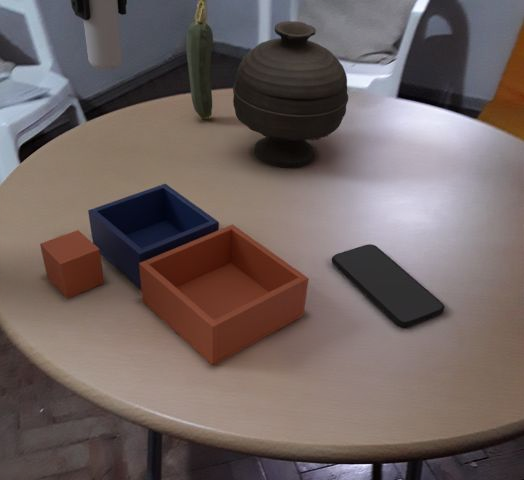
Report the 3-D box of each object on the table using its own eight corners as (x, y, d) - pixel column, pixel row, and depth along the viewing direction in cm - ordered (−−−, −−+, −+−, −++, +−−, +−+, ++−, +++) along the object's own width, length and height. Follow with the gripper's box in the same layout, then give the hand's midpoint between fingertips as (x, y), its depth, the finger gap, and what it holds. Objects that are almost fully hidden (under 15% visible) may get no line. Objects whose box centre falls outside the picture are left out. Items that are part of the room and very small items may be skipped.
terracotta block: (67, 298, 74) (60, 264, 71) (47, 277, 77) (39, 243, 73) (104, 283, 77) (99, 249, 73) (83, 263, 79) (78, 229, 76)
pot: (333, 186, 96) (340, 45, 82) (221, 174, 100) (212, 38, 86) (352, 140, 109) (362, 12, 95) (253, 131, 112) (249, 7, 99)
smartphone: (402, 325, 73) (328, 255, 82) (400, 331, 74) (327, 261, 82) (449, 307, 76) (372, 241, 85) (447, 312, 77) (371, 247, 85)
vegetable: (203, 127, 109) (202, 0, 95) (183, 121, 111) (179, -5, 97) (217, 119, 112) (218, -6, 98) (197, 112, 114) (195, -11, 100)
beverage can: (104, 73, 89) (95, -24, 81) (81, 63, 91) (70, -31, 83) (129, 65, 92) (122, -29, 84) (106, 56, 94) (97, -36, 86)
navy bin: (143, 292, 76) (139, 254, 72) (93, 247, 82) (87, 210, 78) (218, 258, 82) (219, 221, 78) (167, 219, 88) (165, 183, 84)
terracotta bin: (212, 365, 68) (212, 327, 64) (142, 301, 75) (138, 262, 71) (303, 315, 74) (308, 278, 71) (231, 261, 81) (232, 224, 78)
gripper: (129, -157, 81) (138, 0, 93) (1, -158, 72) (30, 15, 84) (162, -149, 77) (167, 14, 89) (32, -150, 68) (57, 31, 80)
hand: (100, 13), depth 87 cm, fingers closed on beverage can, 4 cm apart
